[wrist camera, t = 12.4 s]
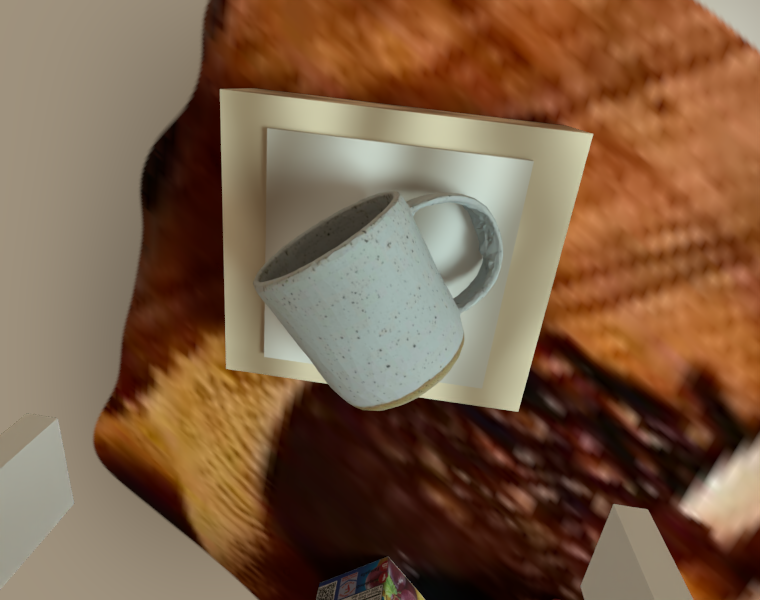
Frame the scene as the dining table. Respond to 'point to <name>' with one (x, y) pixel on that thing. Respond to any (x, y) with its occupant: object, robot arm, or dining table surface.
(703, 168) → the dining table surface
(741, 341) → the dining table surface
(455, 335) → the ceramic mug
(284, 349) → the cream flat rectangular piece
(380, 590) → the juice carton
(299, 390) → the dining table surface
